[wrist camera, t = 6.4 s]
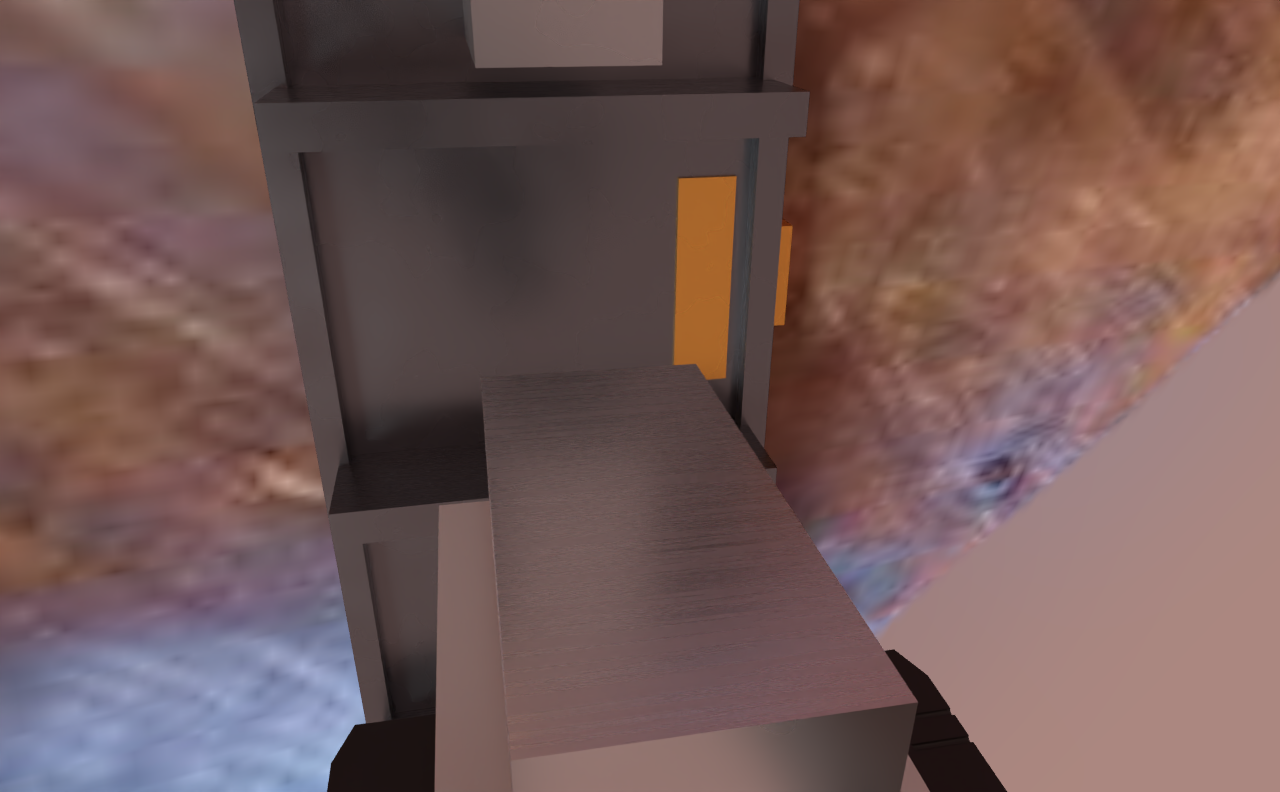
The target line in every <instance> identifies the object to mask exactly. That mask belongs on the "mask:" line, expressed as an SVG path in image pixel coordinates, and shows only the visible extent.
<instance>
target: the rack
mask: <svg viewBox="0 0 1280 792" xmlns="http://www.w3.org/2000/svg"><path fill="white" fill-rule="evenodd" d="M234 5H235V10H236V16H237V21H238V27H239V32H240V37H241V43H242V48H243V54H244V59H245V65H246V70H247V76H248V81H249V87H250V92H251V98H252V103H253V108H254V114H255V119H256V125H257V130H258V136H259V141H260V147H261V152H262V158H263V163H264V168H265V174H266V179H267V185H268V190H269V196H270V201H271V207H272V212H273V218H274V223H275V229H276V234H277V239H278V245H279V250H280V256H281V261H282V267H283V272H284V278H285V283H286V289H287V294H288V299H289V305H290V310H291V316H292V321H293V327H294V332H295V338H296V343H297V349H298V354H299V360H300V365H301V370H302V376H303V381H304V387H305V392H306V398H307V403H308V409H309V414H310V420H311V425H312V430H313V436H314V441H315V447H316V452H317V458H318V463H319V469H320V474H321V480H322V485H323V491H324V496H325V501H326V507H327V512H328V518H329V523H330V529H331V534H332V540H333V545H334V551H335V556H336V561H337V567H338V572H339V578H340V583H341V589H342V594H343V600H344V605H345V611H346V616H347V622H348V627H349V632H350V638H351V643H352V649H353V654H354V660H355V665H356V671H357V676H358V682H359V687H360V692H361V698H362V703H363V709H364V714H365V720H366V723H373V722H381V721H388V720H395V719H403V718H410V717H418V716H425V715H432V714H436V668H437V601H438V534H439V505H449V504H459V503H470V502H481V501H489V491H488V477H487V462H486V447H485V432H484V417H483V402H482V388H481V377H495V376H511V375H527V374H543V373H559V372H574V371H590V370H606V369H622V368H638V367H653V366H669V365H685V364H696V365H697V366H698V368H699V369H700V371H701V372H702V374H703V375H704V377H705V378H706V380H707V381H708V383H709V384H710V386H711V387H712V389H713V391H714V392H715V394H716V395H717V397H718V398H719V400H720V401H721V403H722V404H723V406H724V407H725V409H726V410H727V412H728V413H729V415H730V416H731V418H732V419H733V421H734V422H735V424H736V426H737V427H738V429H739V430H740V432H741V433H742V435H743V436H744V438H745V439H746V441H747V442H748V444H749V445H750V447H751V448H752V450H753V451H754V453H755V454H756V456H757V458H758V459H759V461H760V462H761V464H762V465H763V467H764V468H765V470H766V471H767V473H768V474H769V476H770V477H771V479H772V480H773V482H774V483H775V485H776V473H777V467H776V466H775V464H774V463H773V461H772V460H771V458H770V457H769V455H768V454H767V452H766V451H765V449H764V443H765V431H766V418H767V405H768V393H769V380H770V367H771V354H772V342H773V329H774V326H777V325H784V323H785V311H786V299H787V287H788V275H789V263H790V252H791V240H792V228H793V226H792V225H791V224H789V223H788V222H787V221H785V220H784V219H783V218H782V215H783V202H784V190H785V177H786V164H787V152H788V139H789V137H806V130H807V119H808V107H809V96H810V92H809V91H806V90H803V89H800V88H797V87H794V86H793V76H794V63H795V50H796V37H797V25H798V12H799V0H234Z"/></svg>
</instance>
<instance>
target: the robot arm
mask: <svg viewBox="0 0 1280 792" xmlns="http://www.w3.org/2000/svg"><path fill="white" fill-rule="evenodd" d="M885 653H886V654H887V656H888V657H889V659H890V660H891V662H892V663H893V665H894V666H895V668H896V669H897V671H898V672H899V674H900V675H901V677H902V678H903V680H904V682H905V683H906V685H907V686H908V688H909V689H910V691H911V692H912V694H913V695H914V697H915V698H916V700H917V701H918V705H917V710H916V715H915V720H914V726H913V731H912V736H911V741H910V746H909V751H908V756H907V761H906V766H905V771H904V776H903V781H902V786H901V791H900V792H1007V791H1006V789H1005V788H1004V786H1003V785H1002V784H1001V782H1000V781H999V779H998V778H997V776H996V775H995V773H994V772H993V770H992V769H991V767H990V766H989V765H988V763H987V762H986V760H985V759H984V757H983V756H982V754H981V753H980V752H979V750H978V749H977V747H976V745H975V744H974V743H973V742H970V741H969V738H968V734H967V732H966V731H965V729H964V728H963V726H962V725H961V724H960V722H959V721H958V719H957V718H956V716H955V715H951V712H950V708H949V706H948V704H947V703H946V702H945V700H944V699H943V697H942V696H941V694H940V693H939V691H938V690H937V688H936V687H935V685H934V684H933V683H932V681H931V680H930V678H929V677H928V675H926V674H925V673H924V672H922V671H921V670H920V669H918V668H917V667H916V666H915V665H913V664H912V663H911V662H910V661H908V660H907V659H905V658H904V657H903V656H902V655H900V654H899V653H898V652H896V651H895V650H887V651H885ZM327 792H511V780H510V767H509V754H508V740H507V727H506V714H505V701H504V688H503V675H502V661H501V648H500V635H499V622H498V609H497V596H496V583H495V569H494V556H493V543H492V530H491V517H490V504H489V501H481V502H470V503H459V504H449V505H439V534H438V601H437V668H436V714H432V715H425V716H418V717H410V718H403V719H395V720H388V721H381V722H373V723H366V724H359V725H355V726H354V727H353V729H352V731H351V732H350V734H349V735H348V737H347V739H346V740H345V742H344V743H343V745H342V747H341V748H340V750H339V751H338V753H337V755H336V756H335V758H334V760H333V761H332V763H331V768H330V775H329V782H328V789H327Z"/></svg>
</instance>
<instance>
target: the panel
mask: <svg viewBox="0 0 1280 792" xmlns="http://www.w3.org/2000/svg"><path fill="white" fill-rule="evenodd" d="M481 388H482V402H483V417H484V432H485V447H486V462H487V477H488V491H489V504H490V517H491V530H492V543H493V556H494V569H495V583H496V596H497V609H498V622H499V635H500V648H501V661H502V675H503V688H504V701H505V714H506V727H507V740H508V754H509V767H510V780H511V792H900V791H901V786H902V781H903V776H904V771H905V766H906V761H907V756H908V751H909V746H910V741H911V736H912V731H913V726H914V720H915V715H916V710H917V705H918V701H917V700H916V698H915V697H914V695H913V694H912V692H911V691H910V689H909V688H908V686H907V685H906V683H905V682H904V680H903V678H902V677H901V675H900V674H899V672H898V671H897V669H896V668H895V666H894V665H893V663H892V662H891V660H890V659H889V657H888V656H887V654H886V653H885V651H884V650H883V648H882V646H881V645H880V643H879V642H878V640H877V639H876V637H875V636H874V634H873V633H872V631H871V630H870V628H869V627H868V625H867V624H866V622H865V621H864V619H863V618H862V616H861V614H860V613H859V611H858V610H857V608H856V607H855V605H854V604H853V602H852V601H851V599H850V598H849V596H848V595H847V593H846V592H845V590H844V589H843V587H842V586H841V584H840V582H839V581H838V579H837V578H836V576H835V575H834V573H833V572H832V570H831V569H830V567H829V566H828V564H827V563H826V561H825V560H824V558H823V557H822V555H821V554H820V552H819V550H818V549H817V547H816V546H815V544H814V543H813V541H812V540H811V538H810V537H809V535H808V534H807V532H806V531H805V529H804V528H803V526H802V525H801V523H800V522H799V520H798V518H797V517H796V515H795V514H794V512H793V511H792V509H791V508H790V506H789V505H788V503H787V502H786V500H785V499H784V497H783V496H782V494H781V493H780V491H779V490H778V488H777V486H776V485H775V483H774V482H773V480H772V479H771V477H770V476H769V474H768V473H767V471H766V470H765V468H764V467H763V465H762V464H761V462H760V461H759V459H758V458H757V456H756V454H755V453H754V451H753V450H752V448H751V447H750V445H749V444H748V442H747V441H746V439H745V438H744V436H743V435H742V433H741V432H740V430H739V429H738V427H737V426H736V424H735V422H734V421H733V419H732V418H731V416H730V415H729V413H728V412H727V410H726V409H725V407H724V406H723V404H722V403H721V401H720V400H719V398H718V397H717V395H716V394H715V392H714V391H713V389H712V387H711V386H710V384H709V383H708V381H707V380H706V378H705V377H704V375H703V374H702V372H701V371H700V369H699V368H698V366H697V365H696V364H685V365H669V366H653V367H638V368H622V369H606V370H590V371H574V372H559V373H543V374H527V375H511V376H495V377H481Z"/></svg>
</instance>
